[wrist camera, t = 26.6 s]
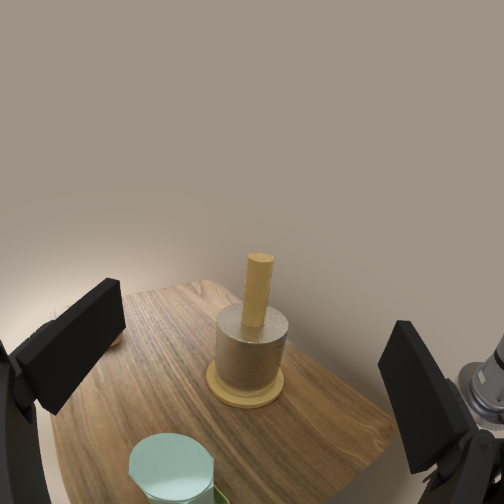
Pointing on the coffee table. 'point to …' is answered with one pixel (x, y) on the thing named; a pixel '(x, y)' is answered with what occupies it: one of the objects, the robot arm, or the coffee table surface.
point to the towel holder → (249, 343)
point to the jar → (173, 470)
